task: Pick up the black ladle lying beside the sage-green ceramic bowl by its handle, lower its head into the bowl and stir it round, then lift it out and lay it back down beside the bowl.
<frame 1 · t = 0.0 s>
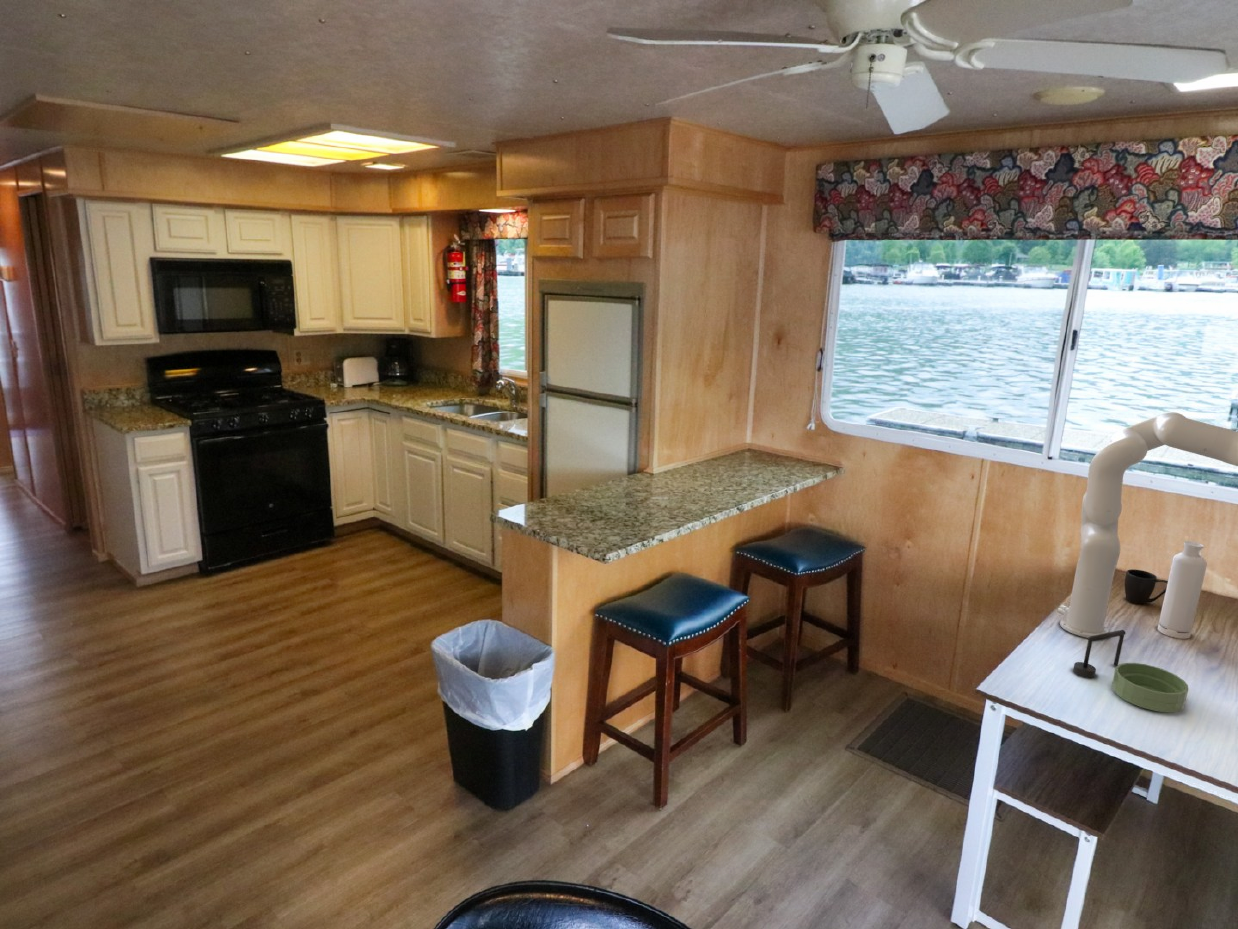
bottle: (1173, 633, 233), on the table
ladle: (1083, 673, 207), on the table
bowl: (1146, 697, 196), on the table
mug: (1142, 603, 253), on the table
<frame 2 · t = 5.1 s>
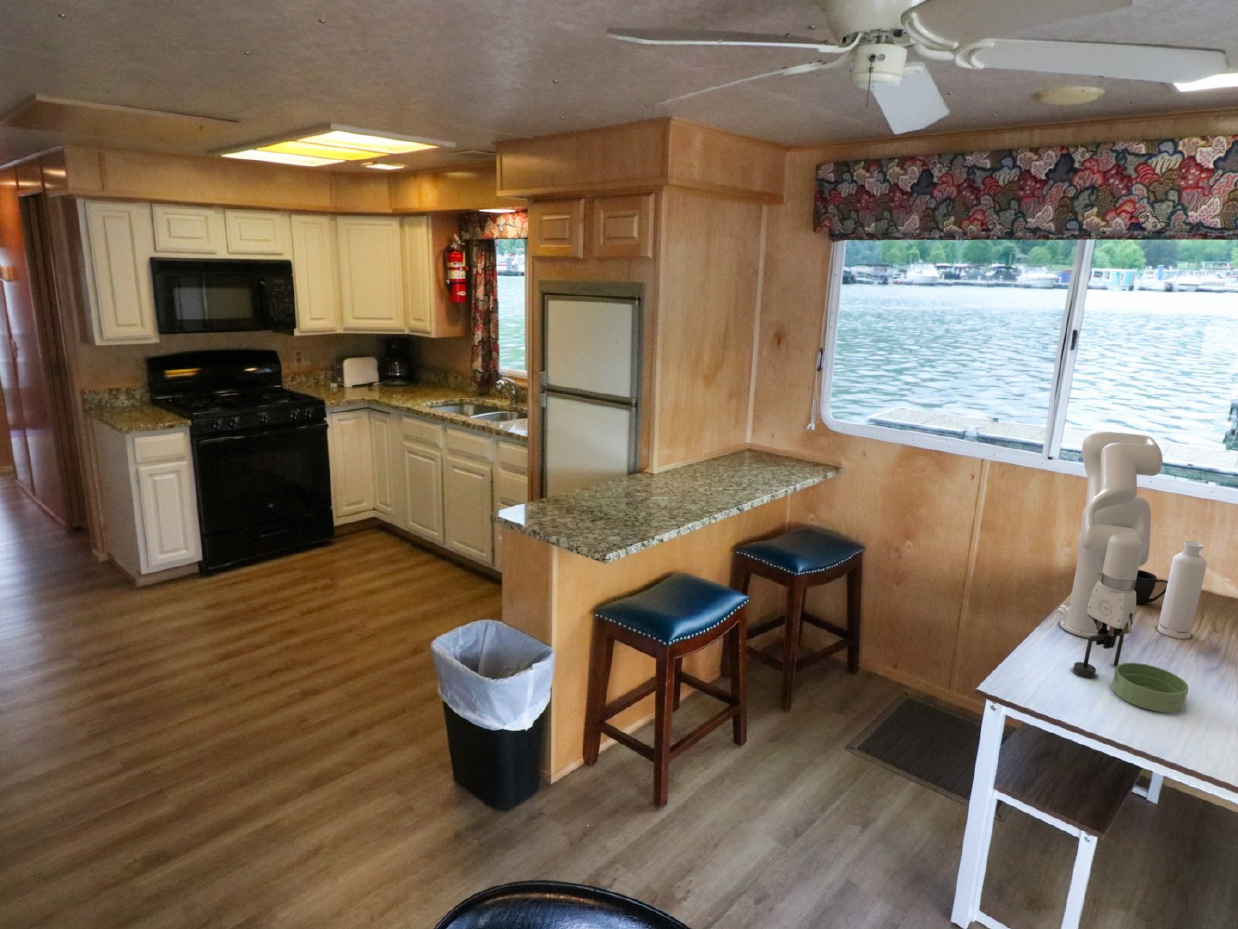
hand: (1104, 645, 207), 7 cm above the table, tool pointing down, fingers closed on ladle
ladle: (1083, 673, 207), on the table, touching gripper
everything else where it was.
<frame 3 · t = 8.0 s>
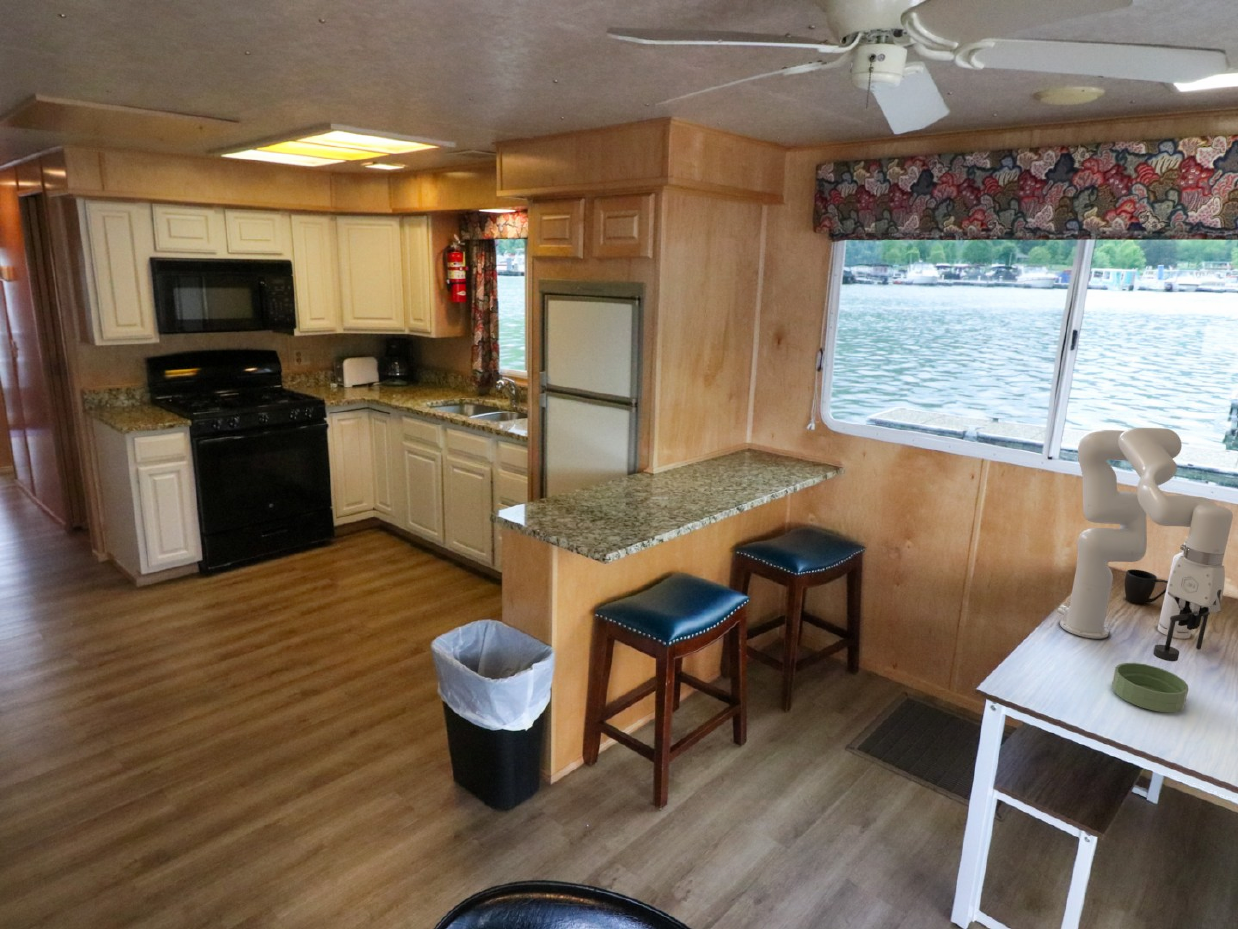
hand: (1187, 626, 191), 20 cm above the table, tool pointing down, fingers closed on ladle
ladle: (1165, 656, 191), point 13 cm above the table, touching gripper
everything else where it was.
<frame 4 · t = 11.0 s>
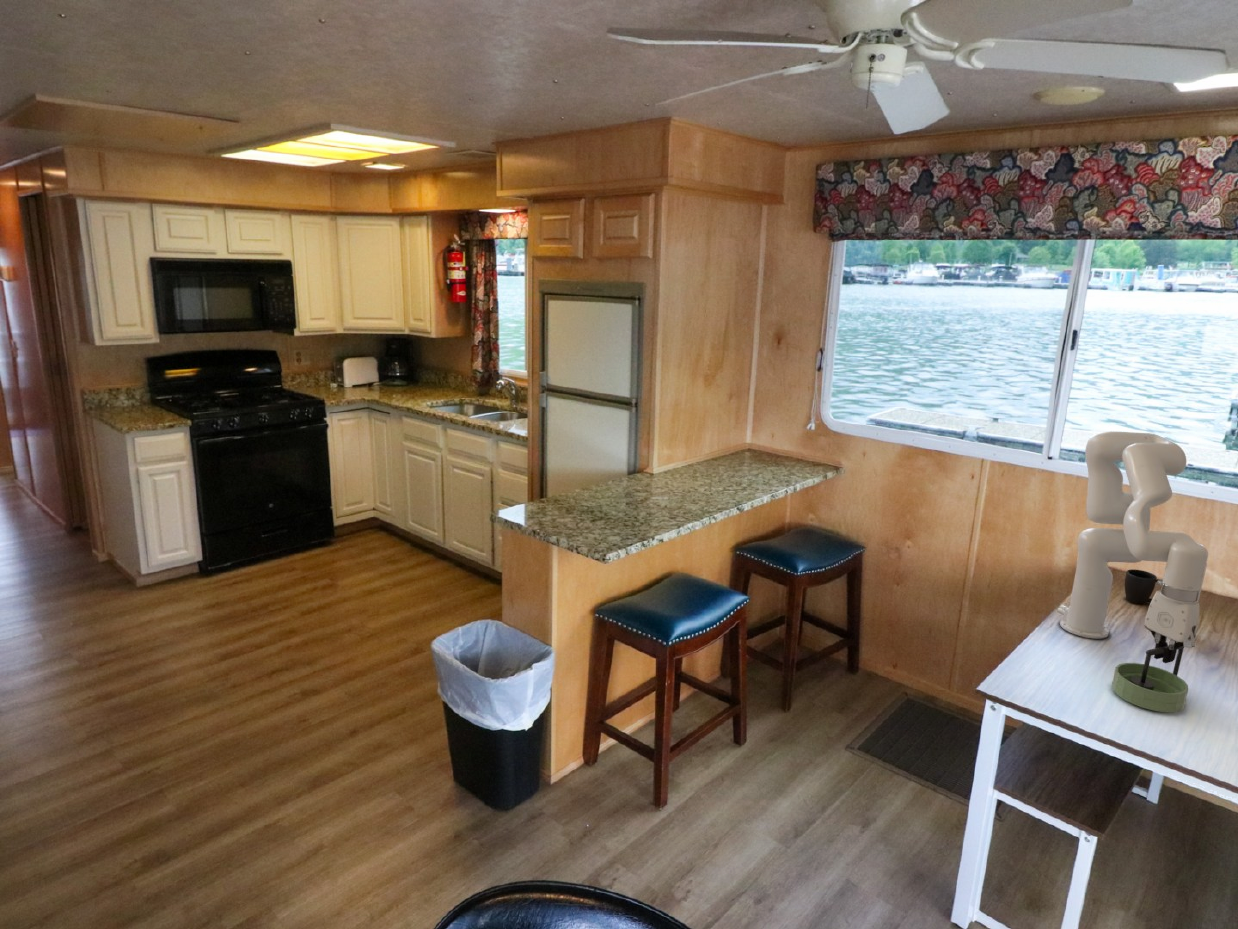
hand: (1163, 659, 195), 10 cm above the table, tool pointing down, fingers closed on ladle
ladle: (1141, 689, 195), point 3 cm above the table, touching gripper
everything else where it was.
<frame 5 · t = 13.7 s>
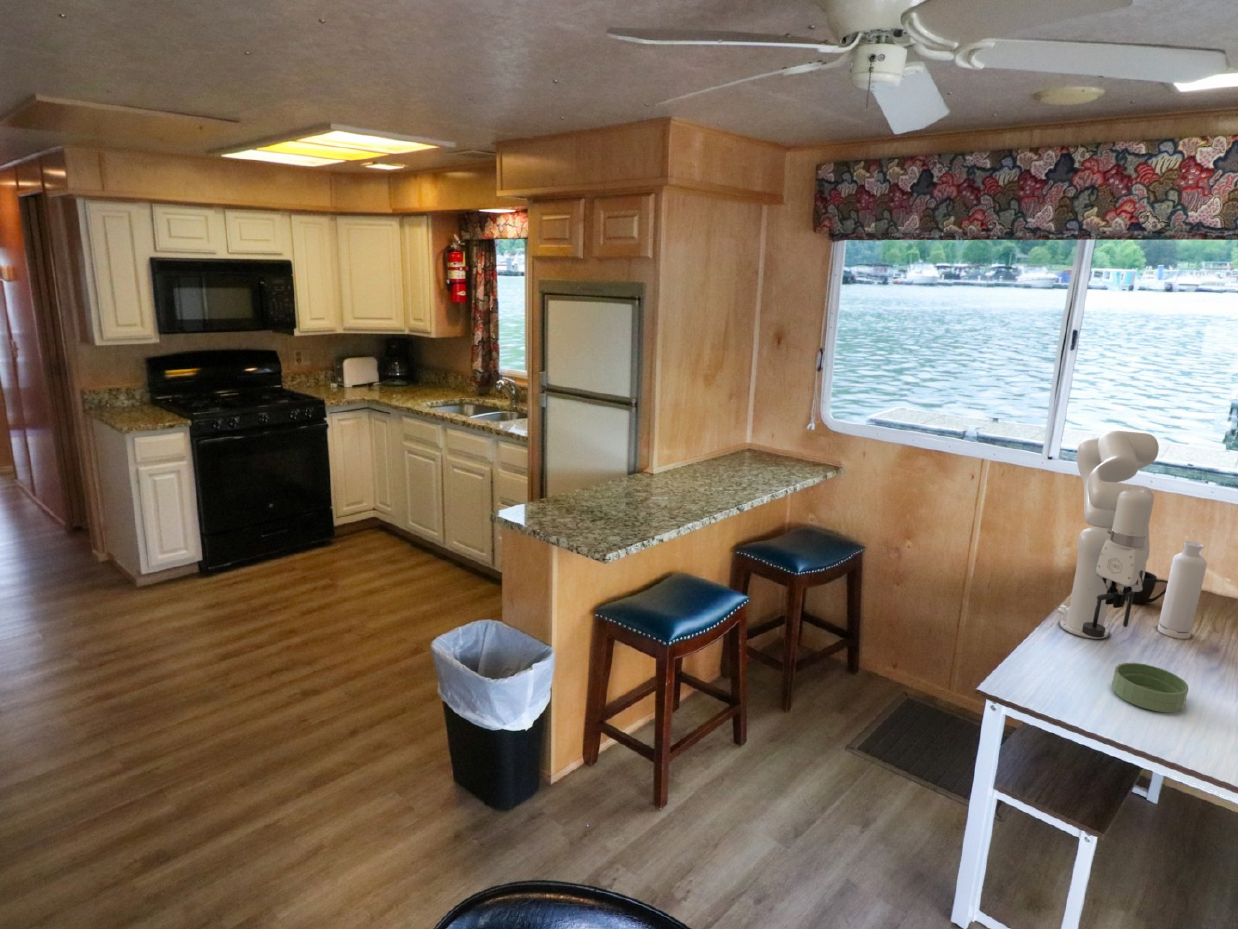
hand: (1114, 605, 204), 19 cm above the table, tool pointing down, fingers closed on ladle
ladle: (1093, 633, 204), point 12 cm above the table, touching gripper
everything else where it was.
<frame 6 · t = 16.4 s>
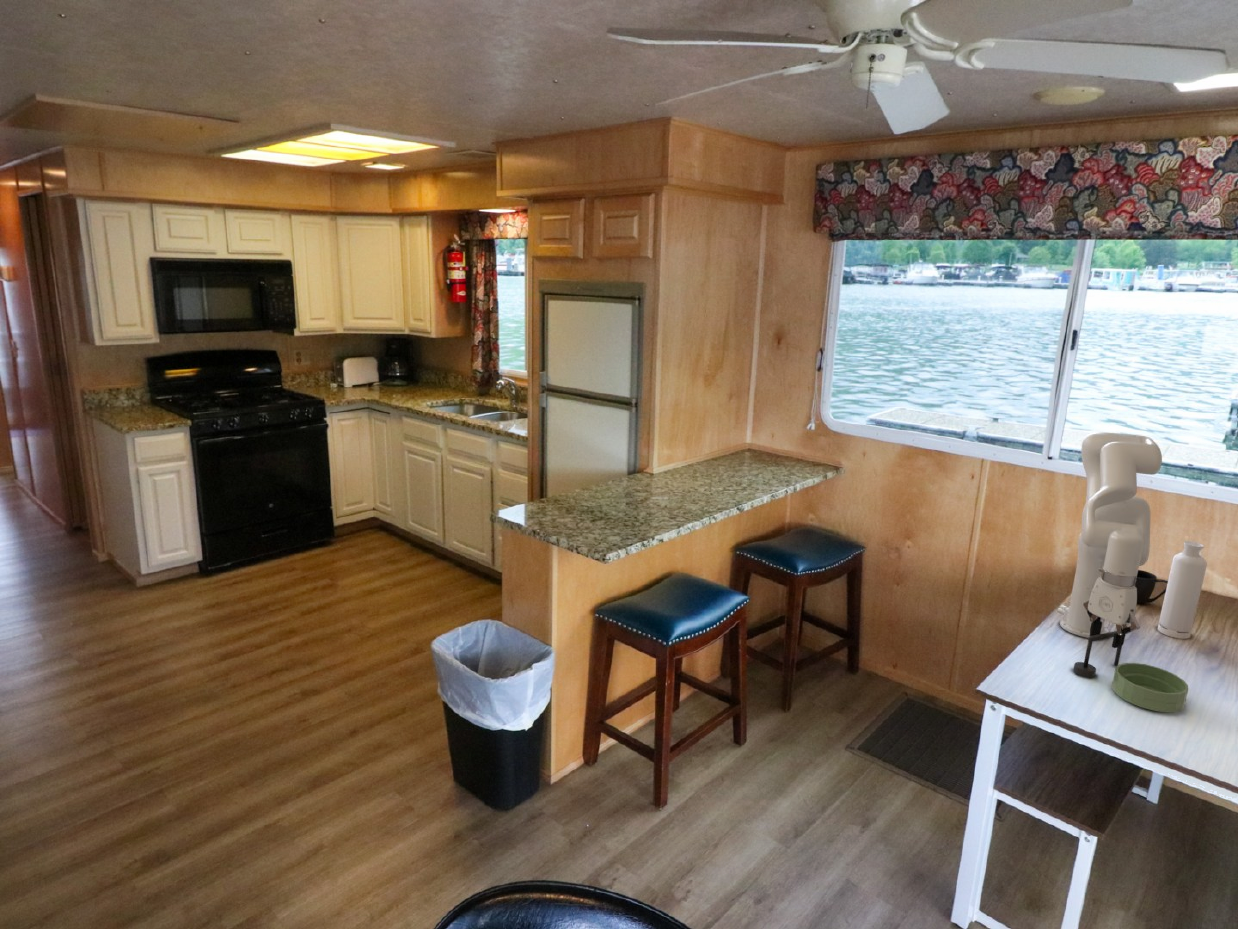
hand: (1105, 640, 207), 9 cm above the table, tool pointing down, fingers open, 5 cm apart
ladle: (1083, 673, 207), on the table
everything else where it was.
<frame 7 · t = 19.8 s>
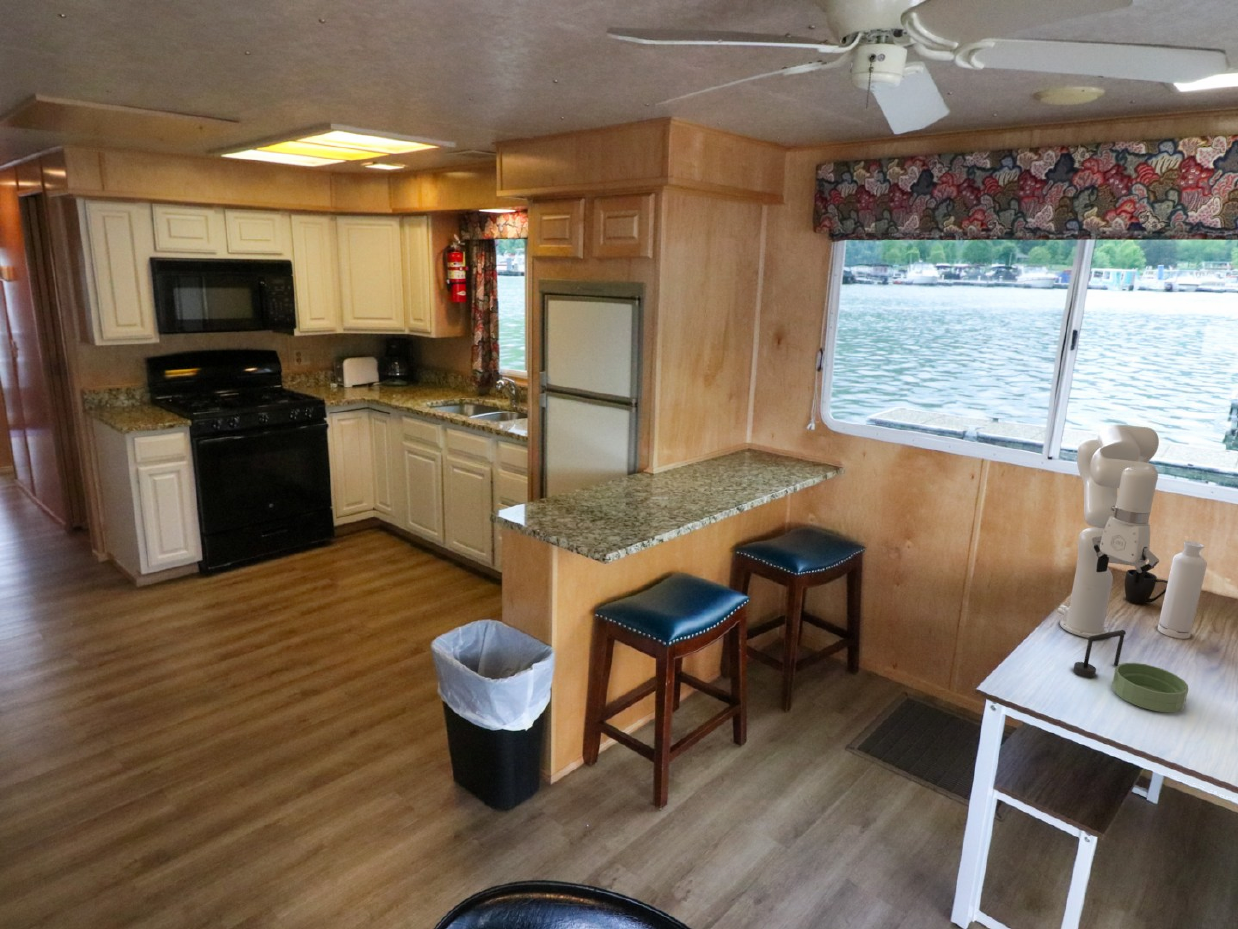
hand: (1118, 578, 203), 26 cm above the table, tool pointing down, fingers open, 9 cm apart
nothing on the table moved.
at the end: ladle inside the target area (0.1 cm from its centre), on the table; ladle tilted 0°; ladle touching table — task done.
